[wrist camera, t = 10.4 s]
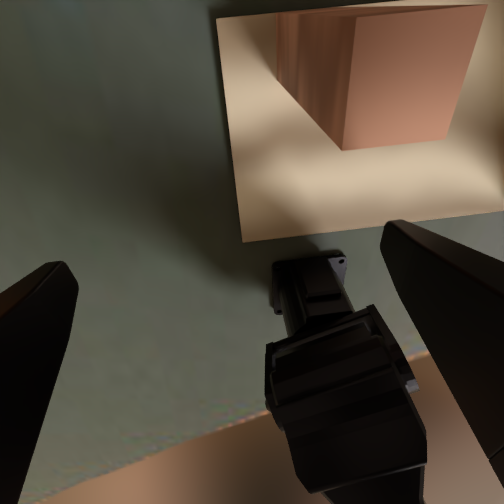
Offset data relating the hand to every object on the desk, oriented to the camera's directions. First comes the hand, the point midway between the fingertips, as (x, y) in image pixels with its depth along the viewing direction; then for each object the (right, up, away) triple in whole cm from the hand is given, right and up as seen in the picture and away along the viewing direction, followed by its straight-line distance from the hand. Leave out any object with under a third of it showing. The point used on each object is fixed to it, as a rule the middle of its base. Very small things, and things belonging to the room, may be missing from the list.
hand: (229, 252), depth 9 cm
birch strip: (+14, +8, +12) cm, 20 cm away
